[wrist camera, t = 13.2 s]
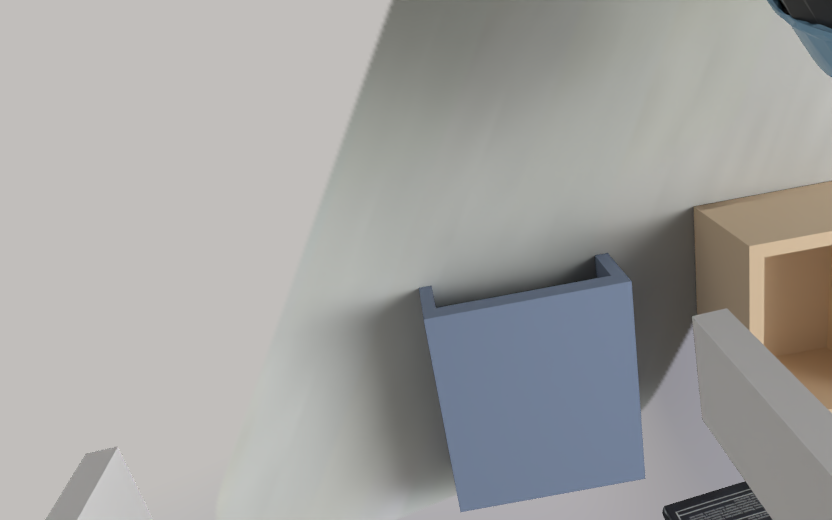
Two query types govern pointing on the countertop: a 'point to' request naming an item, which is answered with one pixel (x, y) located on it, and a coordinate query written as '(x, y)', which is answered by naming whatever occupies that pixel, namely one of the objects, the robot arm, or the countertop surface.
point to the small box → (719, 506)
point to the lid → (539, 389)
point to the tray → (773, 274)
